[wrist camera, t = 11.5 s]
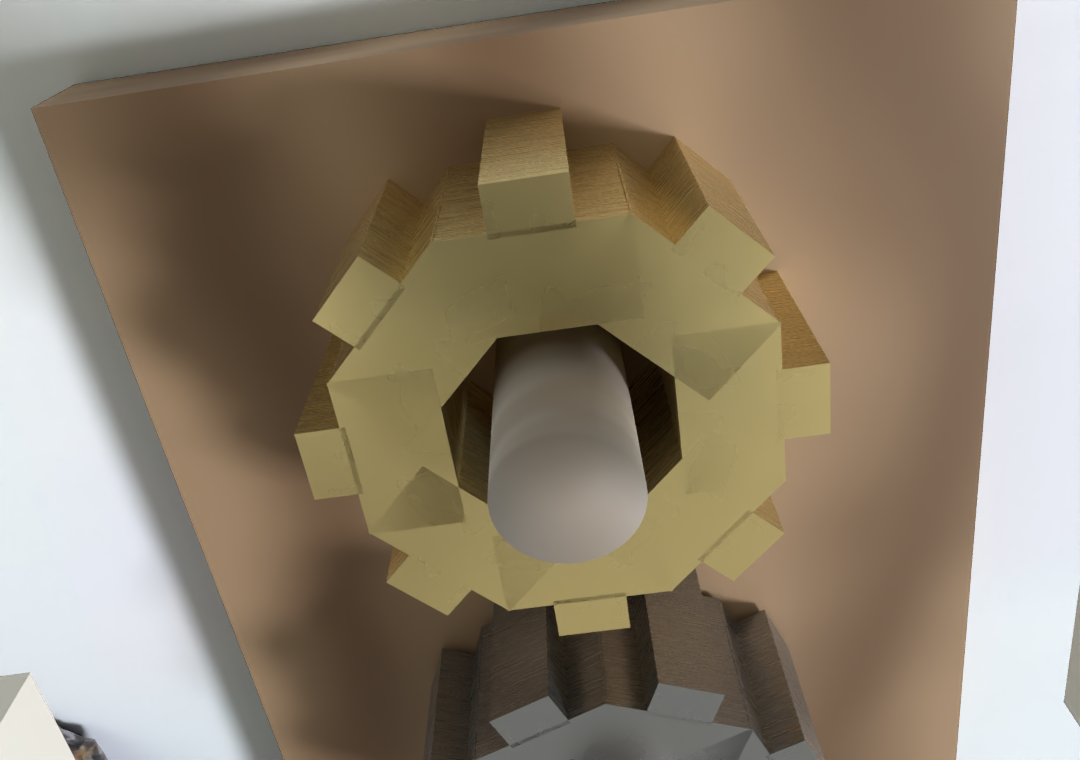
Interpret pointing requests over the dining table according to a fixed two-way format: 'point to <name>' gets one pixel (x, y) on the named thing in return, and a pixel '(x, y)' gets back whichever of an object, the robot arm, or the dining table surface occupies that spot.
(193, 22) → the dining table surface
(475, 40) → the board
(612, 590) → the brass gear
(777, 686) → the grey gear
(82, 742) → the rock
